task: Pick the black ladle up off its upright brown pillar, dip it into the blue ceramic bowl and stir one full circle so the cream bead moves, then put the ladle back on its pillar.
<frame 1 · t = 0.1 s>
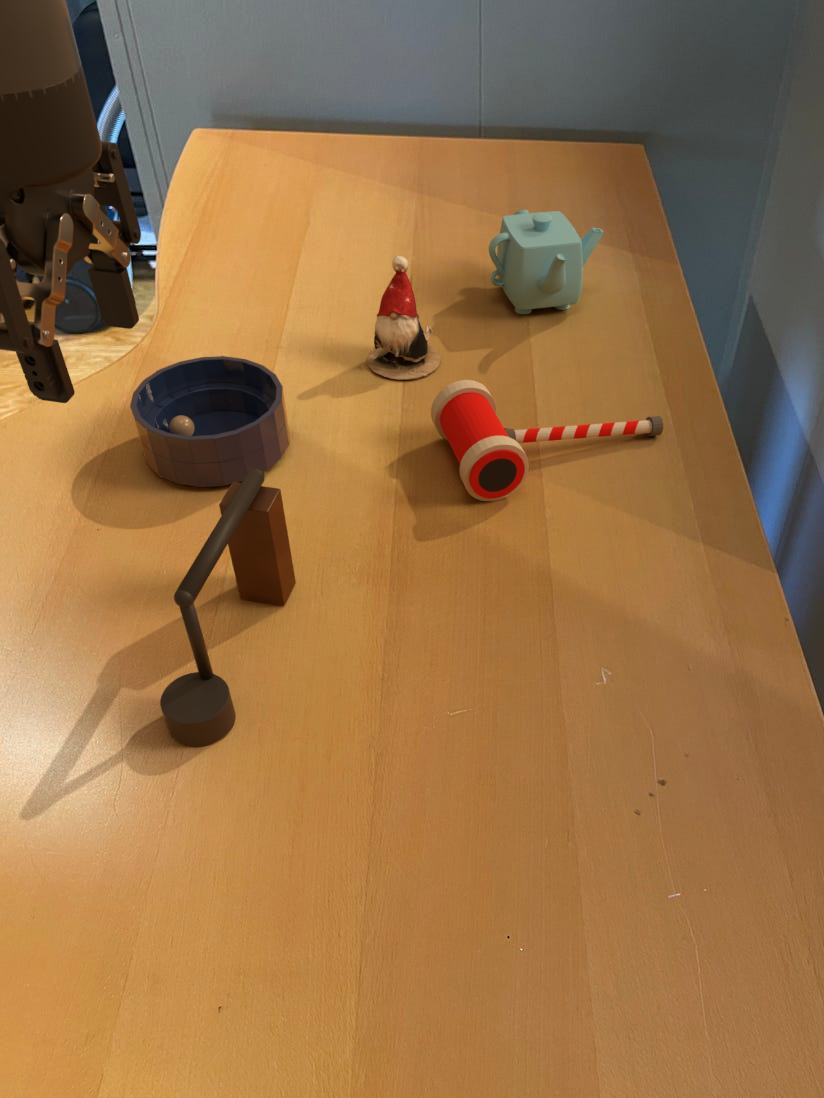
hand: (90, 360, 59), 26 cm above the table, tool pointing down, fingers open, 8 cm apart
bead: (181, 427, 96), point 2 cm above the table, touching bowl
upright brown pillar: (268, 590, 83), on the table
bowl: (218, 447, 97), on the table
toy hammer: (532, 456, 97), on the table
teapot: (542, 299, 119), on the table
ladle: (202, 720, 74), on the table, touching upright brown pillar
figurine: (404, 362, 109), on the table
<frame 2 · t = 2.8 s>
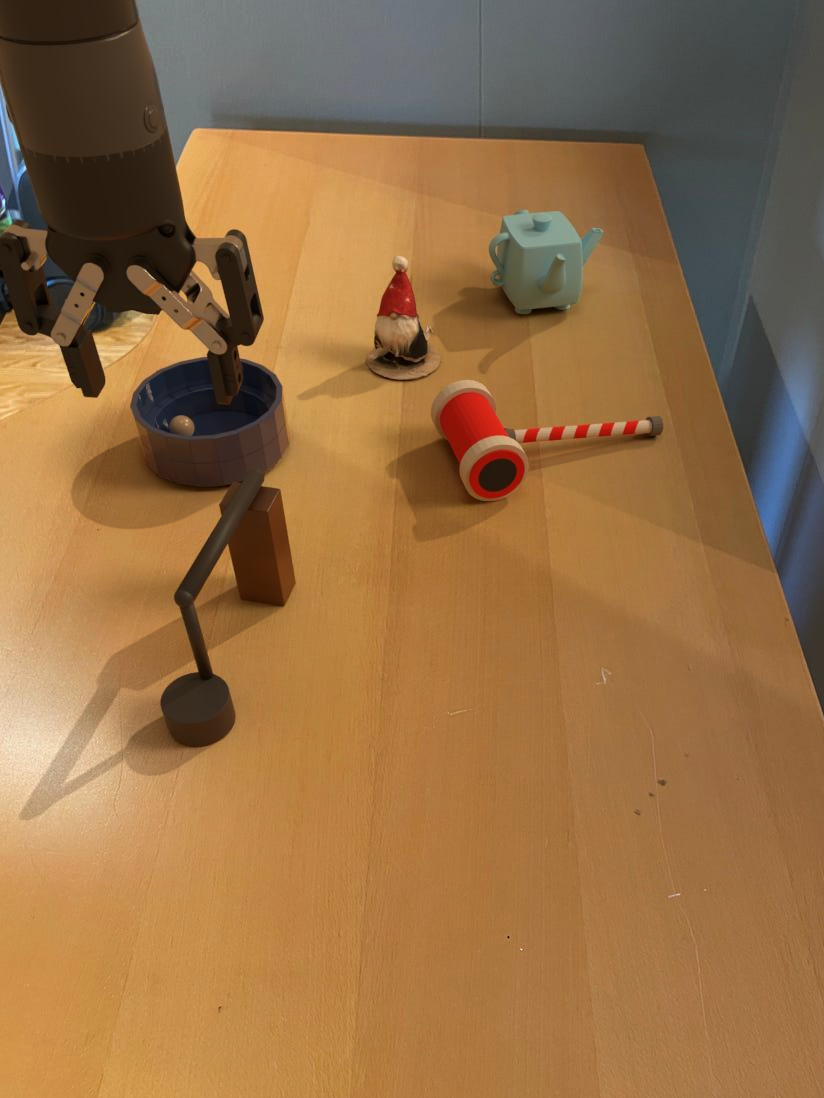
hand: (161, 394, 62), 23 cm above the table, tool pointing down, fingers open, 8 cm apart
nothing on the table moved.
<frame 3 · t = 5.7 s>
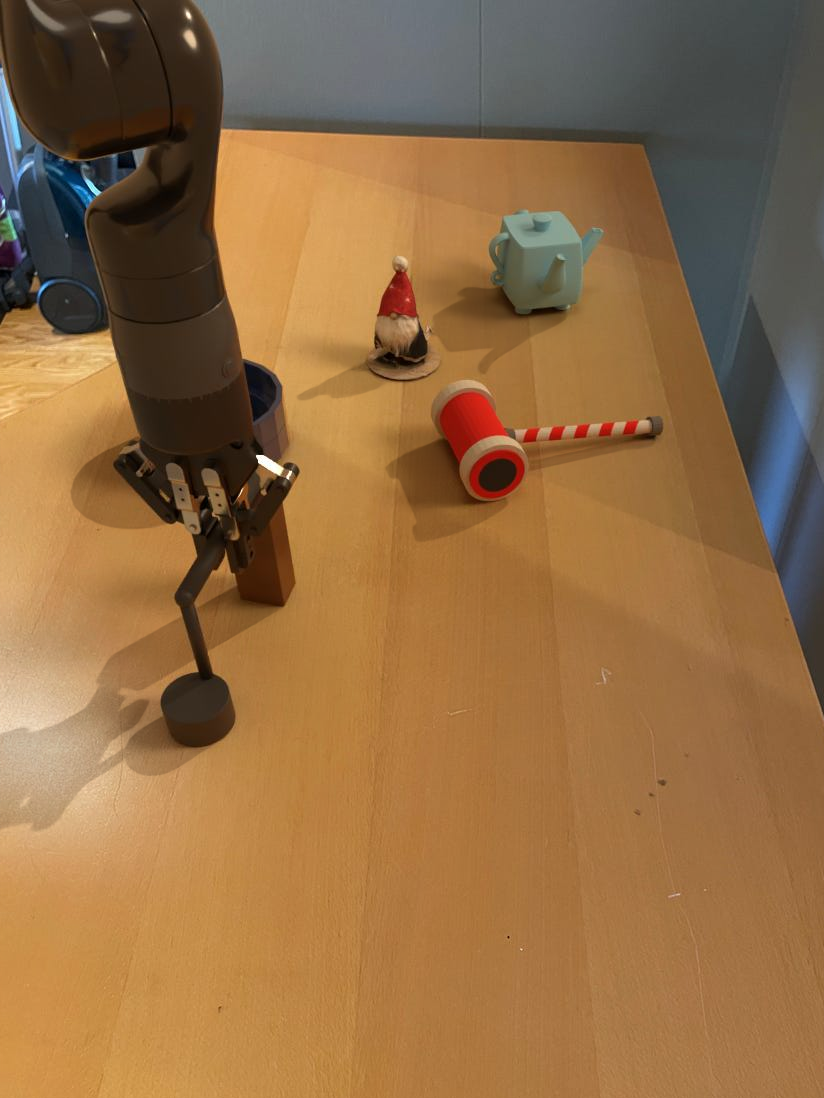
hand: (228, 564, 74), 8 cm above the table, tool pointing down, fingers closed on ladle
ladle: (202, 720, 74), on the table, touching gripper, upright brown pillar
everything else where it was.
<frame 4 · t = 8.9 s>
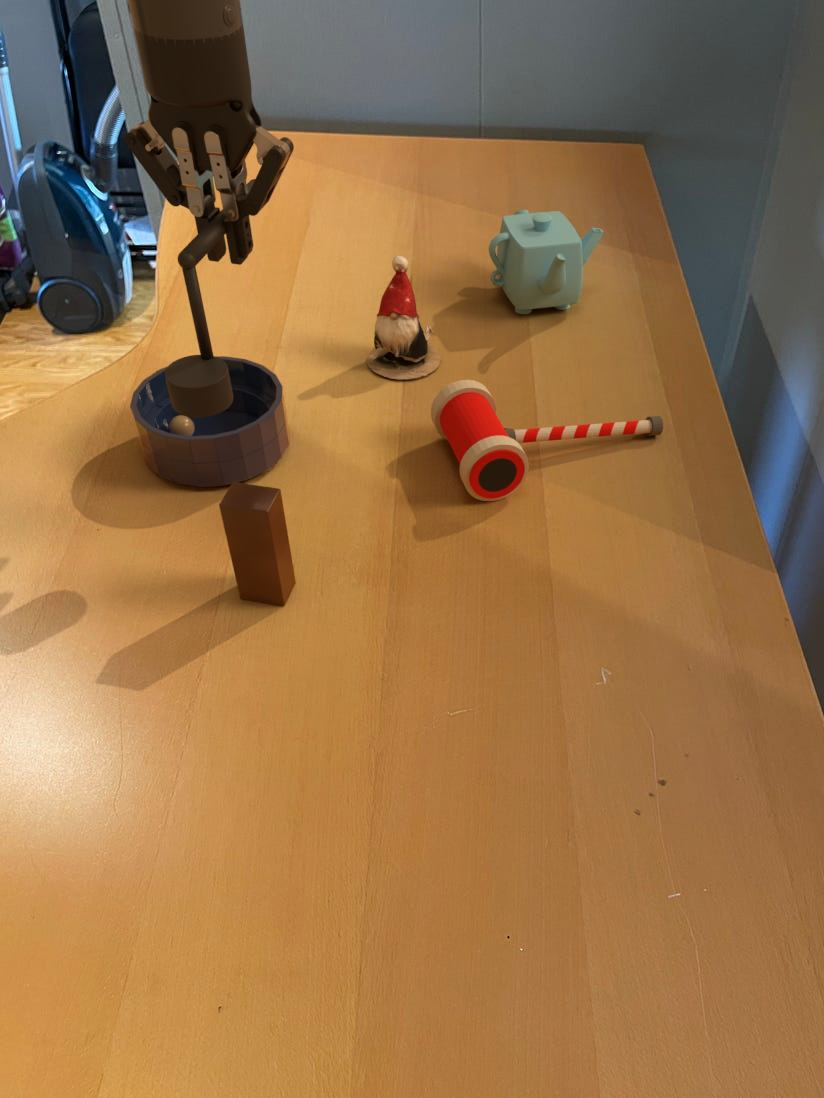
hand: (228, 258, 80), 21 cm above the table, tool pointing down, fingers closed on ladle
ladle: (202, 400, 80), point 13 cm above the table, touching gripper
everything else where it was.
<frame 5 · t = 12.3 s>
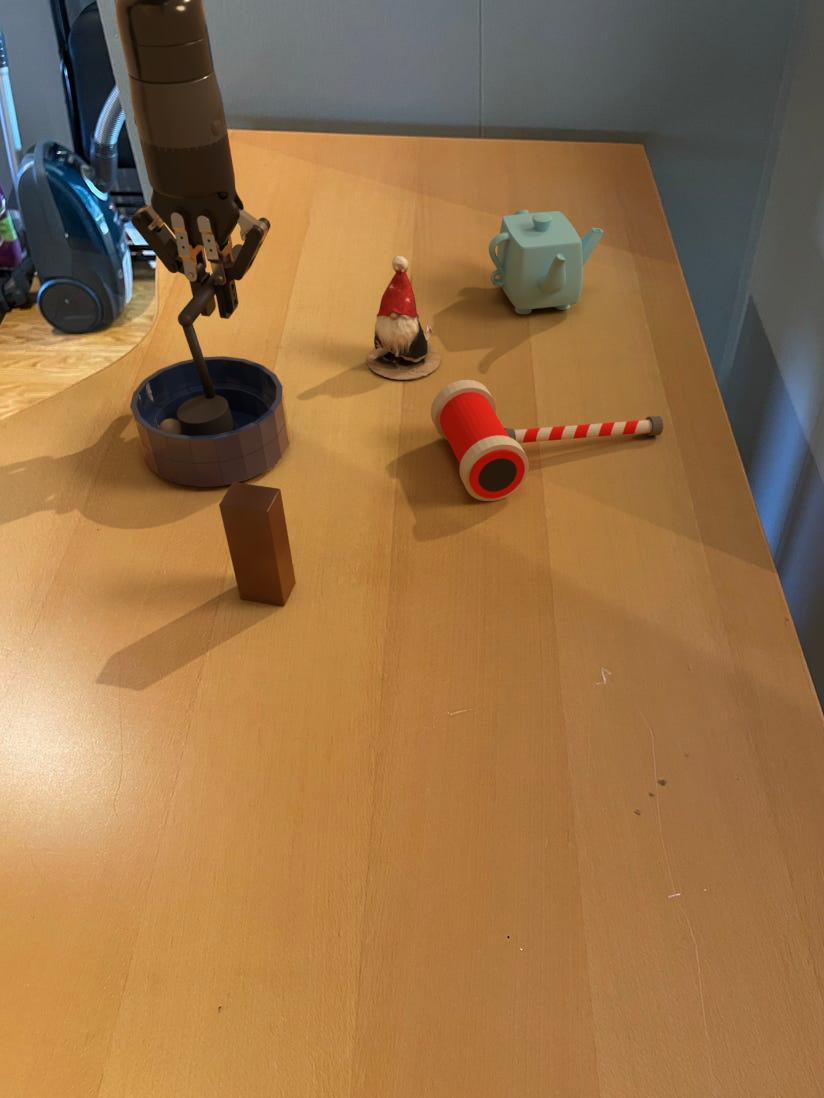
hand: (218, 313, 96), 10 cm above the table, tool pointing down, fingers closed on ladle
bead: (171, 430, 96), point 2 cm above the table, tilted 44°, touching bowl
ladle: (210, 432, 96), point 1 cm above the table, tilted 6°, touching gripper
everything else where it was.
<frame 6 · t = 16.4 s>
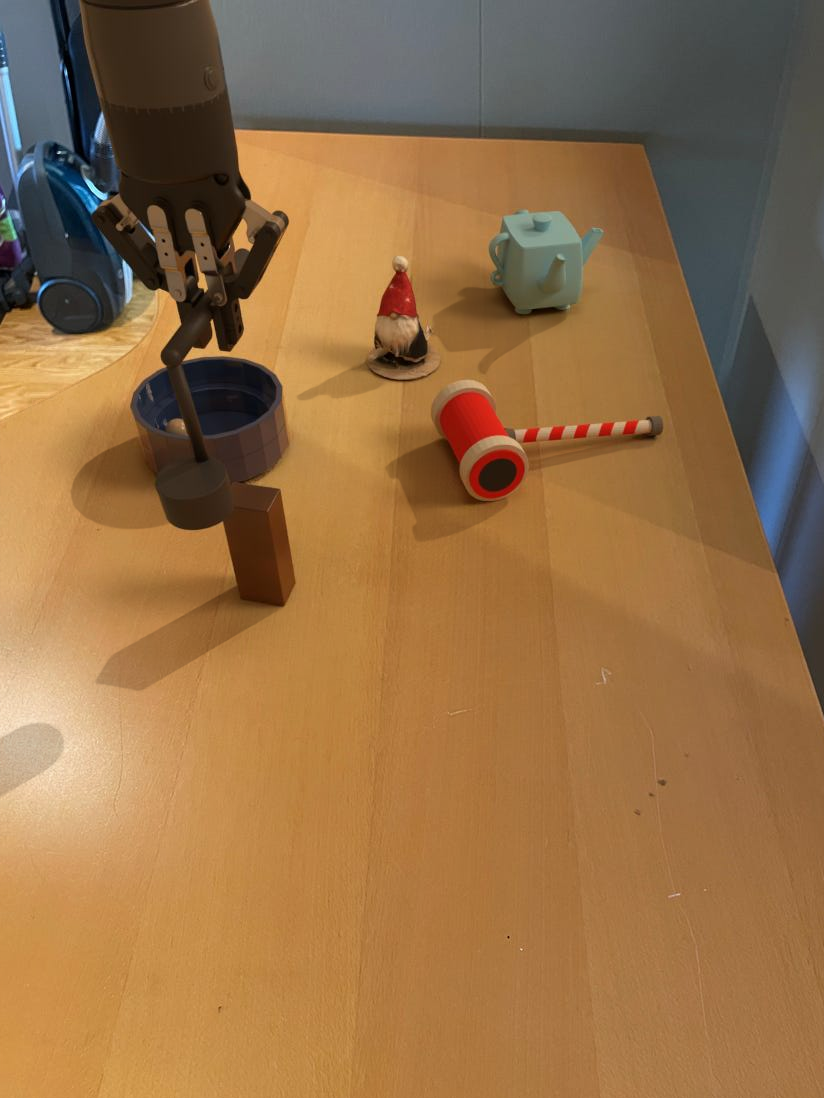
hand: (216, 343, 70), 21 cm above the table, tool pointing down, fingers closed on ladle
bead: (178, 430, 96), point 2 cm above the table, tilted 10°, touching bowl
ladle: (200, 507, 70), point 13 cm above the table, touching gripper
everything else where it was.
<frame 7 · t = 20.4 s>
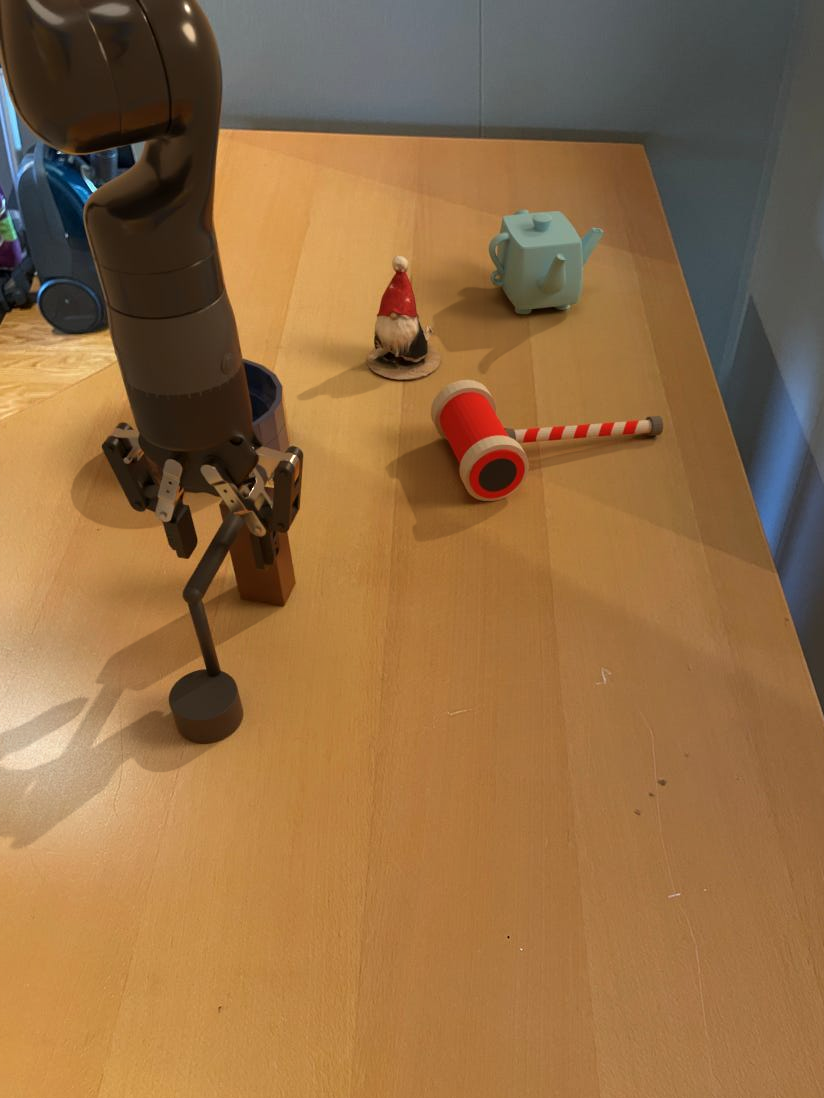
hand: (226, 556, 73), 9 cm above the table, tool pointing down, fingers open, 5 cm apart
bead: (185, 430, 96), point 2 cm above the table, tilted 23°, touching bowl
ladle: (210, 717, 74), on the table, touching upright brown pillar
everything else where it was.
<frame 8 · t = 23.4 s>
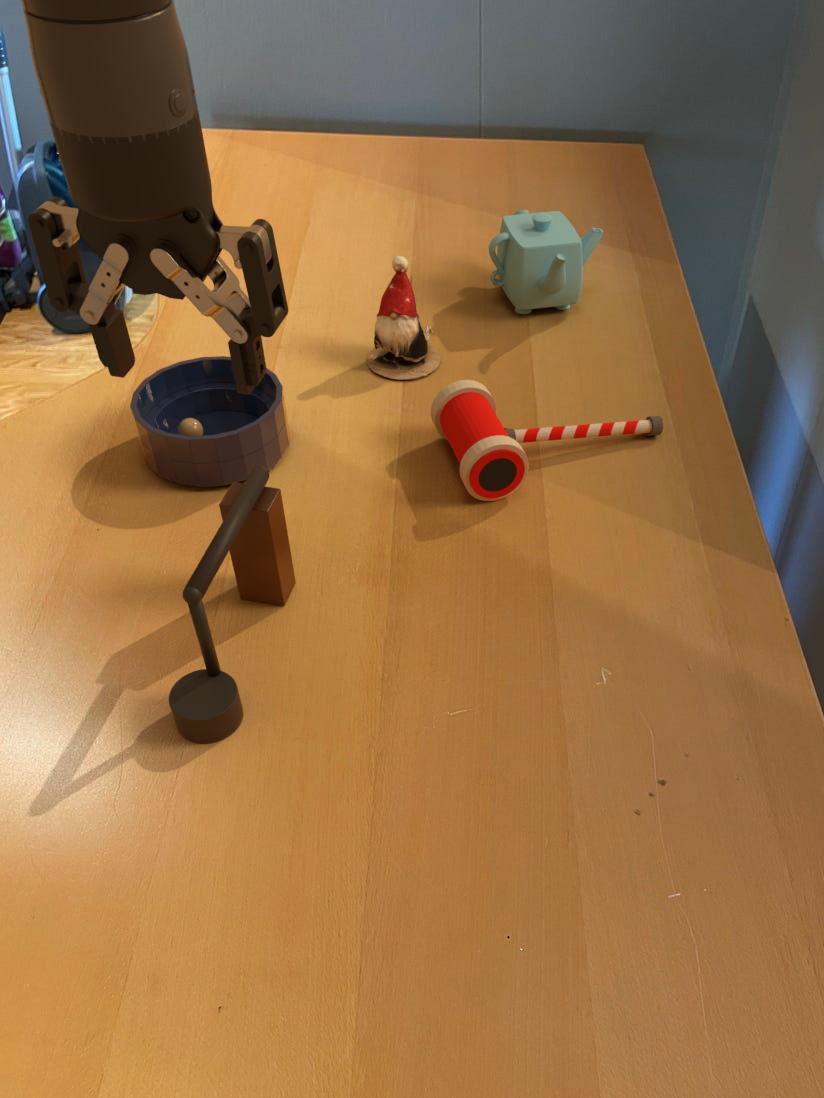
hand: (185, 379, 62), 24 cm above the table, tool pointing down, fingers open, 8 cm apart
bead: (190, 430, 96), point 2 cm above the table, tilted 48°, touching bowl
everything else where it was.
at the end: bead moved 1.1 cm from its start; bead inside the target area in the bowl (2.5 cm from its centre), point 1.8 cm above the bowl's base; ladle 0.6 cm from the target spot, on the table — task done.
